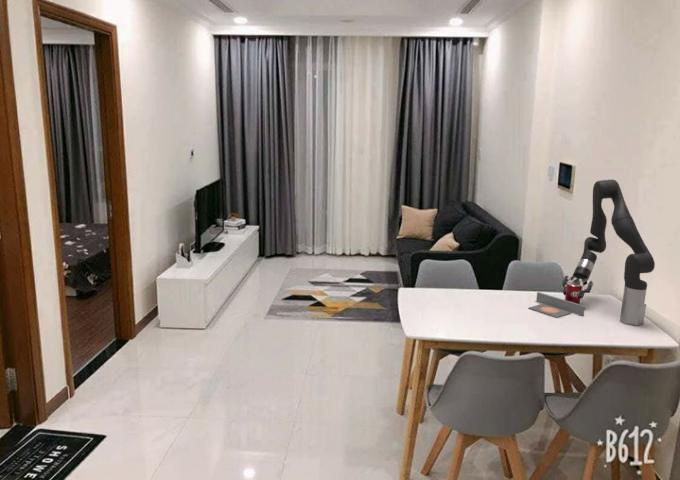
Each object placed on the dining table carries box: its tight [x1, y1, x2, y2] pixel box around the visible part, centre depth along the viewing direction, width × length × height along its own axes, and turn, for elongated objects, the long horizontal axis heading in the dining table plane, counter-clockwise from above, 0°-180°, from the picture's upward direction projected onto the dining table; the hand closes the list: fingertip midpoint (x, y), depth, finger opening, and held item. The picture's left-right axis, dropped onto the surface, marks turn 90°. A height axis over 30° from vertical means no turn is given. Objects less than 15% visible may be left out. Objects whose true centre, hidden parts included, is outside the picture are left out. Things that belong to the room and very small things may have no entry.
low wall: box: [535, 291, 586, 317], centre depth 279 cm, size 26×1×5 cm, turn 35°
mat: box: [528, 303, 572, 319], centre depth 275 cm, size 16×12×1 cm
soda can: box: [564, 281, 582, 305], centre depth 281 cm, size 7×7×12 cm
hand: (571, 296), depth 280 cm, fingers closed on soda can, 7 cm apart
